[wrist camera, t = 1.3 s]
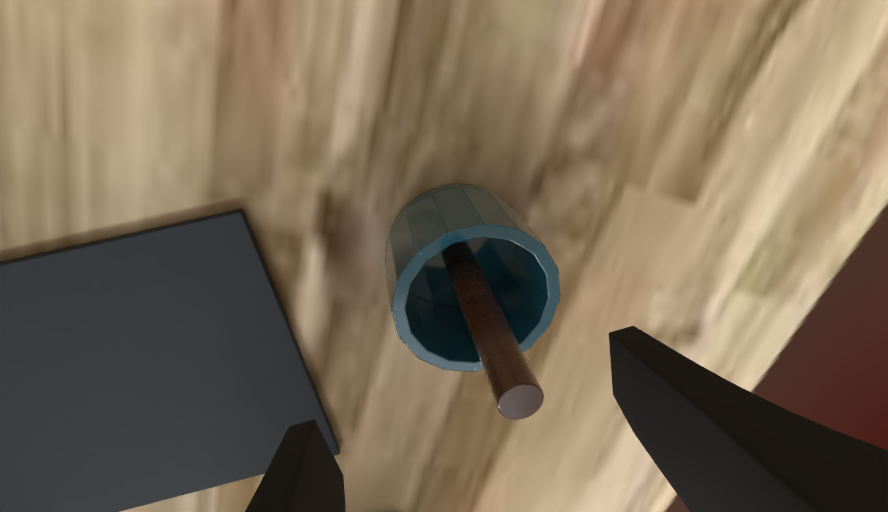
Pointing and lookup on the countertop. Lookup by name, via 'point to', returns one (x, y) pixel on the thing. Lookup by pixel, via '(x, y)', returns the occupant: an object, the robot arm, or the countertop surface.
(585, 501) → the countertop surface
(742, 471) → the robot arm
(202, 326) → the mat
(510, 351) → the stirring stick
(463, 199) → the espresso cup
